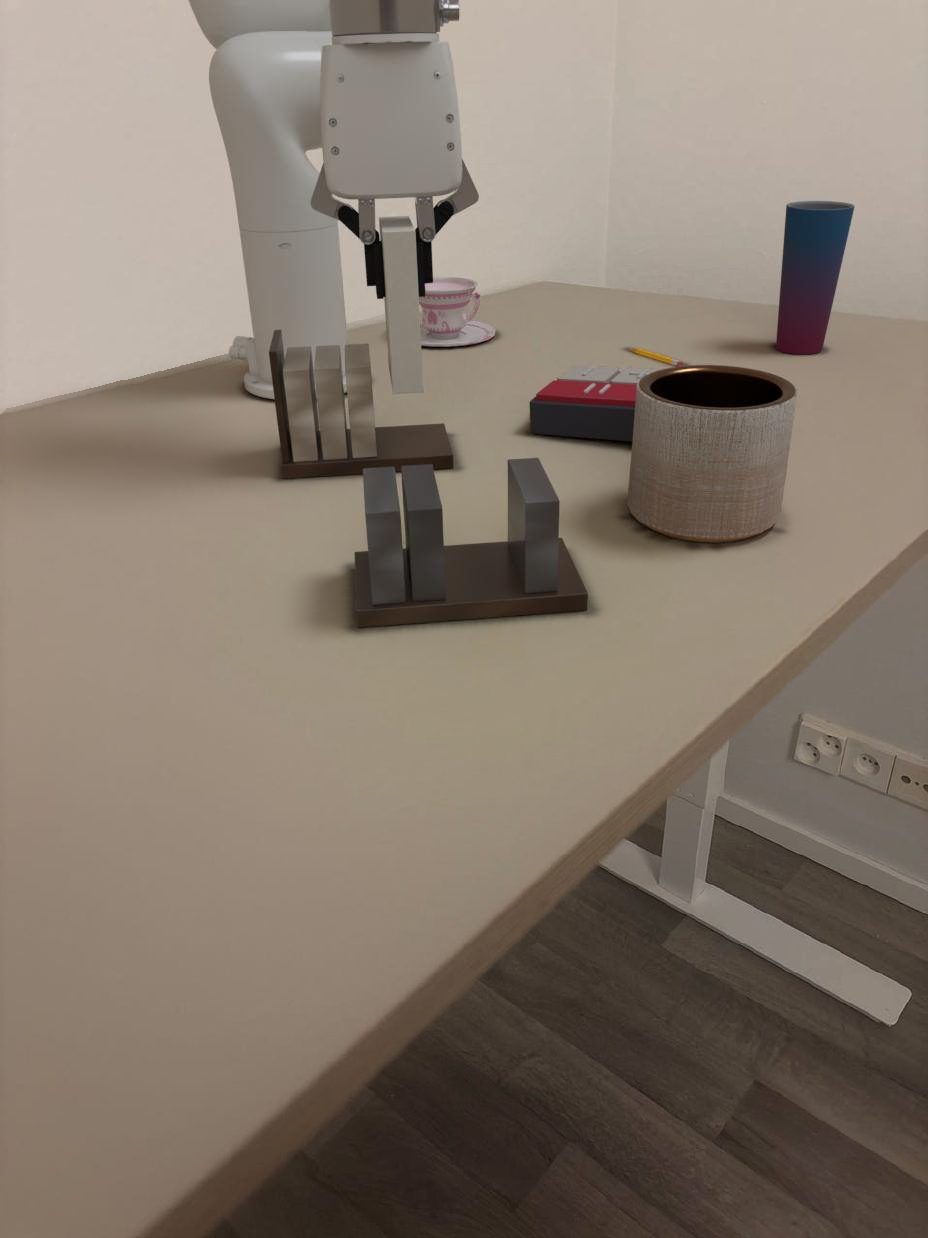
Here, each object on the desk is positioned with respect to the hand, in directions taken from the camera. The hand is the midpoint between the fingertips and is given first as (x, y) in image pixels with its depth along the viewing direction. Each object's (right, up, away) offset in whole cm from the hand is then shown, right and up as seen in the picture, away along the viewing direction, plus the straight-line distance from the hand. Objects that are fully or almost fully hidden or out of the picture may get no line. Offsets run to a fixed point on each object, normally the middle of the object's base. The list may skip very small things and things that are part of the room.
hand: (400, 292), depth 76 cm
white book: (0, -6, +3) cm, 7 cm away
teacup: (+3, +8, +41) cm, 42 cm away
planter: (+22, -18, -5) cm, 29 cm away
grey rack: (+5, -24, -14) cm, 28 cm away
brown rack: (-3, -12, +7) cm, 14 cm away
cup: (+43, +5, +33) cm, 54 cm away
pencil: (+26, +3, +31) cm, 41 cm away
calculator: (+20, -8, +12) cm, 25 cm away
